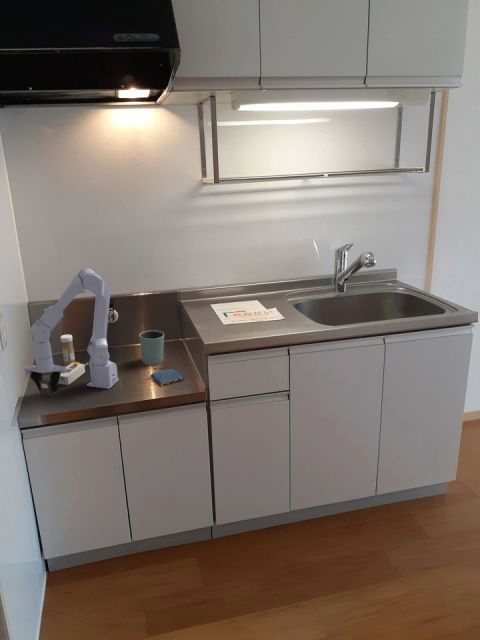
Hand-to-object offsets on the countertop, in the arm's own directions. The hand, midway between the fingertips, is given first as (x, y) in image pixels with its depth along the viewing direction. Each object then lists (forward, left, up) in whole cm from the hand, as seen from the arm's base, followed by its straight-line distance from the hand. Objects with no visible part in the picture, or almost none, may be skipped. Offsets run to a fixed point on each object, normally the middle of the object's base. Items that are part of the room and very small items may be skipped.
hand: (48, 390), depth 188 cm
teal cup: (-25, -37, -2) cm, 44 cm away
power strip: (0, -18, -2) cm, 18 cm away
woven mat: (-37, -23, -2) cm, 44 cm away
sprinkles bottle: (+6, -23, -2) cm, 24 cm away
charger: (0, 0, -2) cm, 2 cm away
